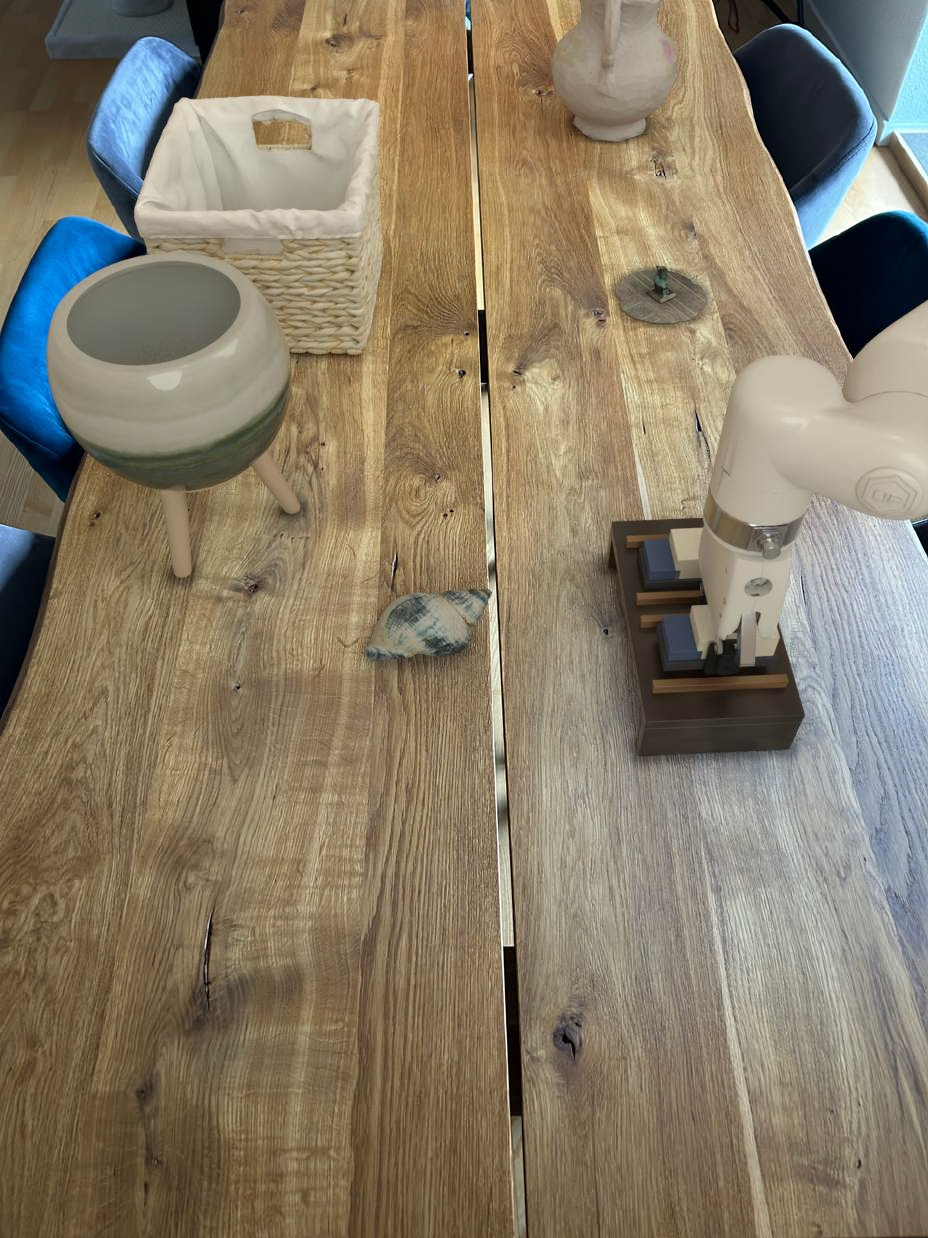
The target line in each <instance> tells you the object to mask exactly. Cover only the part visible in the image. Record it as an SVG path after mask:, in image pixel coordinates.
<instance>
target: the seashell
mask: <svg viewBox="0 0 928 1238" xmlns="http://www.w3.org/2000/svg"><path fill="white" fill-rule="evenodd" d="M492 594H493V591H492V590H490V589H489V588H485V589H484V588H482V589H477V588H468V589H466V590H464V589H458V590H456V589H452V590H446V591H443V592H442V593H440V594H437V593H433V592H412V593H407V594H404V595H401V596H399V597H397V598H395V599H394V600H393V601H392V602H391V603H389V604H388V606H387V607H386V608H385V609H384V610H383V612H382V614H381V615H380V617H379V618H378V620H377V622H376V624H375V626H374V628H373V630H372V632H371V637H370V643H369V645H367V647H365V649H364V651H365V656H366V658H367V659H368V660H369V661H371V662H375V663H376V662H380V661H385V660H387V659H388V660H389V659H390V660H405V659H408V658H412V657H414V656H415V655H417V654H420V655H426V656H431V657H438V658H444V657H451V656H454V655H457V654H459V653H460V652H462V651H463V650H464V649H466V647H467V646H468V644H469V643H470V641H471V638H472V636H473V632H474V627H475V624H476V623H478V622H479V621H480V619H481V618H482V617H483V614H484V612H485V608H486V607H487V605H488V603H489V600H490V598H491V596H492Z"/></svg>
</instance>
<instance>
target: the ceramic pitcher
mask: <svg viewBox="0 0 928 1238" xmlns="http://www.w3.org/2000/svg"><path fill="white" fill-rule="evenodd" d="M661 2H662V0H579V4H580V17H579V20H578V22H577V24H576V25H575V26H574V27H572V28H571V29H570V30H569V31H568V32H567V33H566V34H565V35H563V36H562V37H561V38H560V39H559V41H558V42H557V45H556V46H555V48H554V50H553V54H552V59H551V76H552V81H553V86H554V89H555V92H556V94H557V97H558V99H559V100H560V102H561V104H562V105H563V107H564V108H565V109H566V110H567V111H568V112H570V113H571V114H573V116H574V118H573V120H572V122H571V124H573V126H574V127H576V129H577V130H579V132H580V133H581V134H583V135H585V136H587V137H588V138H589V139H591V140H593V141H605V142H614V143H615V142H617V143H618V142H619V143H620V142H624V141H626V140H628V139H632V138H635V137H638V136H640V135H643V134H644V131H645V129H646V127H647V126H646V125H647V122H646V118H648V117H649V116H651V115H652V114H654V113H655V112H656V111H658V110H659V108H660V107H661V106H662V105H663V104H664V103H665V101H666V100H667V98H668V97H669V95H670V93H671V91H672V89H673V88H674V85H675V82H676V79H677V78H676V77H677V72H678V62H679V61H678V58H679V57H678V56H679V53H678V50H677V48H676V45H675V43H674V41H673V39H672V37H670V36H669V35H668V34H667V33H666V32H664V31H663V30H662V29H661V28H660V27H659V26H658V24H657V16H658V11H659V7H660V5H661Z"/></svg>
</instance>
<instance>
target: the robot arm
mask: <svg viewBox="0 0 928 1238" xmlns="http://www.w3.org/2000/svg"><path fill="white" fill-rule="evenodd" d="M717 444H718V445H717V449H716V453H715V458H714V462H713V467H712V471H711V475H710V481H709V484H708V488H707V494H706V497H705V502H704V506H703V511H702V518H703V522H704V527H703V530H702V534H701V539H700V544H699V551H698V560H699V567H700V572H701V577H702V580H701V583H700V591H701V594H705V595H701V596H699V597H698V601H697V605H708V607H709V611H710V615H711V619H712V623H713V627H714V630H715V633H716V636H715V642H714V643H711V644H710V645H709V649H708V652H707V656H706V660H705V663H704V667H703V669H704V673H705V674H707V675H709V674H718V675H730V674H733V673H738V672H740V670H741V667H750V666H754V665H755V649H756V623H757V627H758V630H759V633H760V636H761V639H766V638H771V637H772V636H773V635H774V633H775V631H776V628H777V625H778V622H779V621H780V617H781V615H782V610H783V607H784V603H785V600H786V599H785V598H786V595H787V592H788V586H789V582H790V575H791V569H792V559H793V548H792V546H793V545H794V544H795V543H796V541H797V540H798V539H799V537H800V534H801V532H802V529H803V526H804V523H805V520H806V518H807V514H808V511H809V509H810V505H811V502H812V500H813V497H814V494H816V495H819V496H821V497H823V498H826V499H828V500H830V501H832V502H835V503H836V504H839V505H841V506H843V507H846V508H848V509H851V510H853V511H855V512H858V513H860V514H863V515H865V516H869V517H872V518H877V519H881V520H888V521H911V520H916V519H918V518H921V517H924V516H927V515H928V299H927V300H925V301H924V302H922V303H921V304H919V305H918V306H917V307H915V308H914V309H912V310H910V311H909V312H908V313H906V314H905V315H903V316H901V317H900V318H899V319H897V320H895V321H894V322H893V323H891V324H890V325H889V326H887V327H885V329H883V330H882V331H881V332H879V333H878V334H877V335H876V336H874V337H873V338H872V339H871V340H870V341H869V342H867V343H866V344H865V345H864V347H863V348H862V349H861V350H859V352H858V353H857V354H856V356H855V357H854V359H853V360H852V362H851V363H850V365H849V367H848V369H847V371H846V374H845V377H844V381H843V386H841V384H840V382H839V380H838V379H837V377H836V376H835V374H833V372H832V371H831V370H830V369H829V368H827V367H825V366H824V365H823V364H821V363H819V362H818V361H815V360H814V359H811V358H809V357H805V356H801V355H794V354H771V355H767V356H764V357H760V358H757V359H755V360H753V361H752V362H750V363H749V364H747V365H746V366H745V367H744V368H742V369H741V370H740V372H739V373H738V375H737V376H736V377H735V378H734V381H733V383H732V386H731V389H730V392H729V395H728V400H727V404H726V409H725V413H724V418H723V423H722V427H721V431H720V435H719V440H718V443H717ZM732 633H737V639H726V638H728V635H731V634H732Z"/></svg>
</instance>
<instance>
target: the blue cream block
mask: <svg viewBox="0 0 928 1238" xmlns="http://www.w3.org/2000/svg"><path fill="white" fill-rule="evenodd" d="M656 636H657V641H658V646H659V651H660V656H661V661H662V667H663V671H674V670H695V669H703V667H704V663H705V660H706V656H707V652H708V649H709V645H710V644H711V643H714V642H715V636H716V633H715V630H714V627H713V623H712V619H711V615H710V611H709V607H708V605H693V606H692V607H691V612H690V615H682V616H663V619H662V623H661V624H657V628H656ZM779 638H780V636H779V632H778V629H777V628H776V631H775V633H774V635H773V636H772V637H771V638H766V639H761V636H760V633H759V630H758V627H757V623H756V649H755V665H754V666H750V667H758V666H774V665H775V663H776V660H777V656H776V652H775V649H776V646H777V644H778V641H779ZM726 639H737V633H732V634H731V635H728V638H726Z"/></svg>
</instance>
